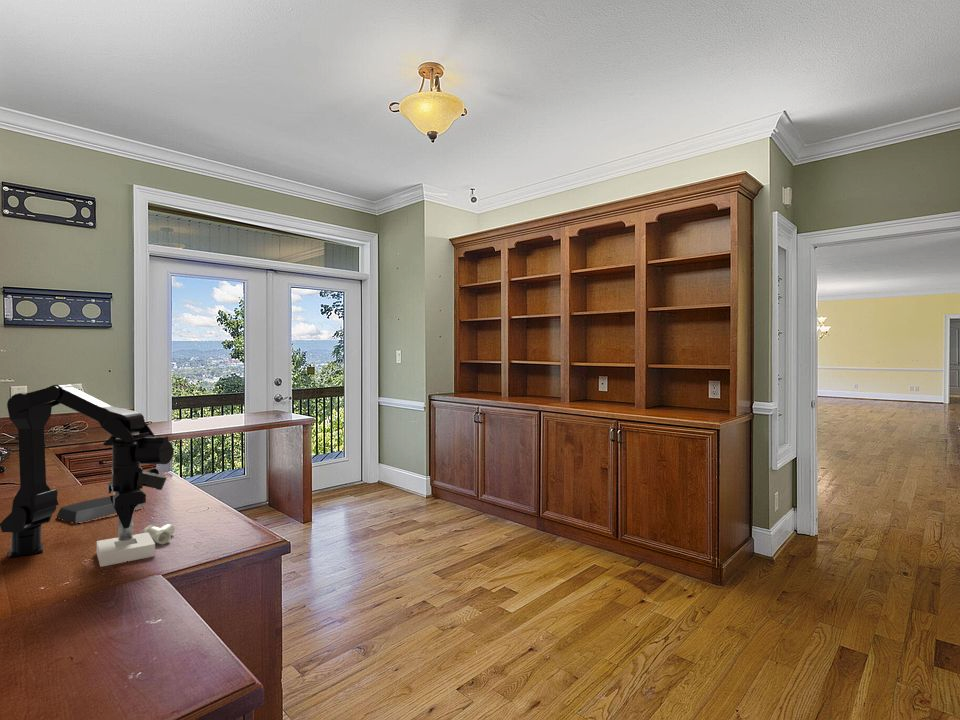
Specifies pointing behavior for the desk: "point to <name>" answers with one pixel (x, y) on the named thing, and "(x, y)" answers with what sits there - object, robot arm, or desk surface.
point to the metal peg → (125, 531)
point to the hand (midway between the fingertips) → (125, 526)
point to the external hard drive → (88, 510)
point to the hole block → (125, 549)
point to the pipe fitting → (160, 533)
